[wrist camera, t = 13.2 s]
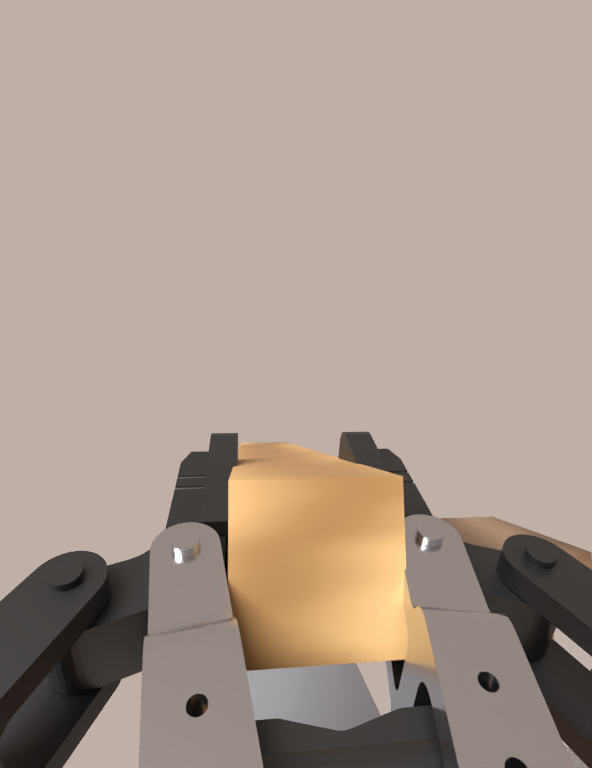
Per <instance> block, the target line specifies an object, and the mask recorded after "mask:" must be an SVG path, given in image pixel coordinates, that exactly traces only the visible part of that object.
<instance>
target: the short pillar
mask: <svg viewBox="0 0 592 768" xmlns="http://www.w3.org/2000/svg"><path fill="white" fill-rule="evenodd" d="M247 677H248V683H249V688H250V694H251V700H252V705H253V711H254V717H255V720H264V719H275V718H279V719H284V720H289V721H293V722H298V723H303V724H308V725H313V726H318V727H323V728H328V729H333V730H338V731H344V730H348V729H351V728H353V727H356V726H358V725H361V724H363V723H365V722H368V721H370V720H373V719H375V718H377V717H380V713H379V711H378V709H377V707H376V705H375V703H374V701H373V698H372V697H371V694H370V692H369V690H368V688H367V686H366V684H365V681H364V679H363V677H362V675H361V673H360V671H359V669H358V666H357V664H356V663H349V664H335V665H321V666H308V667H294V668H280V669H266V670H253V671H247Z"/></svg>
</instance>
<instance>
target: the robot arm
mask: <svg viewBox="0 0 592 768" xmlns="http://www.w3.org/2000/svg"><path fill="white" fill-rule="evenodd" d="M338 458H339V459H342V460H346V461H349V462H352V463H356V464H362V465H366V466H369V467H373V468H376V469H379V470H383V471H386V472H390V473H393V474H397V475H400V476H403V491H404V520H405V548H406V569H404V589H403V604H404V610H405V615H406V621H407V630H408V646H407V653H406V658H405V659H404V660H390V661H386V665H387V673H388V681H389V690H390V698H391V712H389V713H387V714H384V715H382V716H380V717H377V718H375V719H373V720H370V721H368V722H365V723H363V724H361V725H358V726H356V727H353V728H351V729H348V730H344V731H338V730H333V729H328V728H323V727H318V726H313V725H308V724H303V723H298V722H293V721H289V720H284V719H279V718H275V719H264V720H255V717H254V711H253V705H252V700H251V694H250V688H249V683H248V677H247V671H246V666H245V660H244V654H243V649H242V643H241V637H240V632H239V626H238V622H237V619H236V617H233V614H232V608H231V602H230V596H229V590H228V480H229V478H230V475H231V472H232V469H233V466H237V463H238V433H216V434H215V433H213V434H211V439H210V447H209V452H191V453H190V454H189V455H188V456H187V457H186V458H185V459H184V460H183V461H182V463H181V465H180V470H179V474H178V478H177V483H176V487H175V491H174V496H173V500H172V504H171V508H170V513H169V517H168V521H167V525H166V529H165V530H164V531H163V532H161V533H160V534H159V535H158V536H157V537H156V538H155V540H154V541H153V542H152V545H151V549H150V550H149V551H147V552H145V553H144V554H142V555H140V556H138V557H135V558H132V559H129V560H126V561H122V562H119V563H115V564H112V565H108V566H107V565H106V562H105V560H104V559H103V558H102V557H101V556H99V555H98V554H96V553H93V552H89V551H75V552H69V553H65V554H62V555H59V556H56V557H54V558H52V559H50V560H48V561H47V562H45V563H44V564H42V565H41V566H40V567H38V568H37V569H36V570H35V571H34V572H33V573H31V574H30V575H29V576H28V577H27V578H26V579H25V580H24V581H23V582H22V583H20V584H19V585H18V586H17V587H16V588H15V589H14V590H12V591H11V592H10V593H9V594H8V595H7V596H6V597H5V598H4V599H2V600H1V601H0V768H62V767H63V765H64V764H65V763H66V761H67V760H68V759H69V757H70V756H71V754H72V753H73V751H74V750H75V748H76V747H77V745H78V744H79V742H80V741H81V740H82V738H83V737H84V735H85V734H86V732H87V731H88V729H89V728H90V726H91V725H92V723H93V722H94V720H95V719H96V718H97V716H98V715H99V713H100V711H101V710H102V709H103V707H104V706H105V704H106V703H107V701H108V700H109V698H110V697H111V696H112V694H113V693H114V691H115V690H116V688H117V687H118V685H119V683H120V681H121V679H123V678H125V677H128V676H130V675H133V674H136V673H138V672H141V671H142V693H141V694H142V695H141V721H140V722H141V723H140V749H139V751H140V752H139V768H573V765H572V763H571V761H570V758H569V756H568V753H567V751H566V749H565V746H564V744H563V742H562V740H563V741H564V742H565V743H566V744H567V745H568V746H569V748H570V749H571V750H572V751H573V752H574V753H575V754H576V755H577V756H578V757H579V758H580V759H581V760H582V761H583V762H584V763H585V764H586V765H587V766H588V767H589V768H592V673H591V672H590V671H589V670H588V669H587V668H586V667H584V666H583V665H582V664H581V663H580V662H579V661H577V660H576V659H575V658H574V657H573V656H572V655H570V654H569V653H568V652H567V651H566V650H565V649H564V648H562V647H561V646H560V645H559V644H558V643H557V642H556V641H554V640H553V639H552V637H553V634H554V632H555V629H556V627H557V628H558V629H560V630H561V631H562V632H563V633H564V634H565V635H567V636H568V637H569V638H570V639H571V640H572V641H574V642H575V643H576V644H577V645H578V646H580V647H581V648H582V649H583V650H584V651H586V652H587V653H588V654H589V655H591V656H592V569H590V568H589V567H587V566H586V565H584V564H583V563H581V562H580V561H578V560H577V559H576V558H574V557H573V556H571V555H570V554H568V553H567V552H565V551H564V550H562V549H561V548H559V547H558V546H556V545H555V544H553V543H551V542H549V541H547V540H545V539H542V538H539V537H536V536H532V535H525V534H518V535H513V536H510V537H509V538H507V539H506V540H505V541H504V544H503V547H502V550H497V549H492V548H487V547H482V546H477V545H473V544H469V543H466V542H463V541H462V538H461V536H460V534H459V533H458V532H457V530H456V529H455V528H454V527H452V526H451V525H450V524H448V523H447V522H445V521H443V520H441V519H439V518H436V517H433V516H432V514H431V512H430V510H429V508H428V507H427V505H426V503H425V501H424V500H423V498H422V496H421V494H420V493H419V491H418V489H417V487H416V485H415V484H414V483H413V480H412V478H411V477H410V475H409V473H407V470H406V468H405V466H404V464H403V462H402V461H401V459H400V458H399V457H397V456H396V455H395V454H393V453H392V452H391V451H390V450H388V449H377V447H376V445H375V443H374V441H373V439H372V437H371V435H370V433H369V432H343V433H342V434H341V438H340V448H339V457H338Z"/></svg>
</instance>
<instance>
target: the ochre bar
mask: <svg viewBox="0 0 592 768" xmlns="http://www.w3.org/2000/svg"><path fill="white" fill-rule="evenodd" d="M404 569H406V548H405V520H404V491H403V476H400V475H397V474H393V473H390V472H386V471H383V470H379V469H376V468H373V467H369V466H366V465H362V464H356V463H352V462H349V461H346V460H342V459H339V458H338V457H335V456H331V455H328V454H324V453H321V452H317V451H314V450H311V449H307V448H304V447H300V446H297V445H294V444H290V443H287V442H285V443H241V445H240V448H239V451H238V463H237V466H233V469H232V472H231V475H230V478H229V480H228V590H229V596H230V602H231V608H232V614H233V617H236V619H237V622H238V626H239V632H240V637H241V643H242V649H243V654H244V660H245V666H246V671H253V670H266V669H280V668H294V667H308V666H321V665H335V664H349V663H361V662H376V661H390V660H404V659H405V658H406V653H407V646H408V630H407V621H406V615H405V610H404V604H403V589H404Z"/></svg>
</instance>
